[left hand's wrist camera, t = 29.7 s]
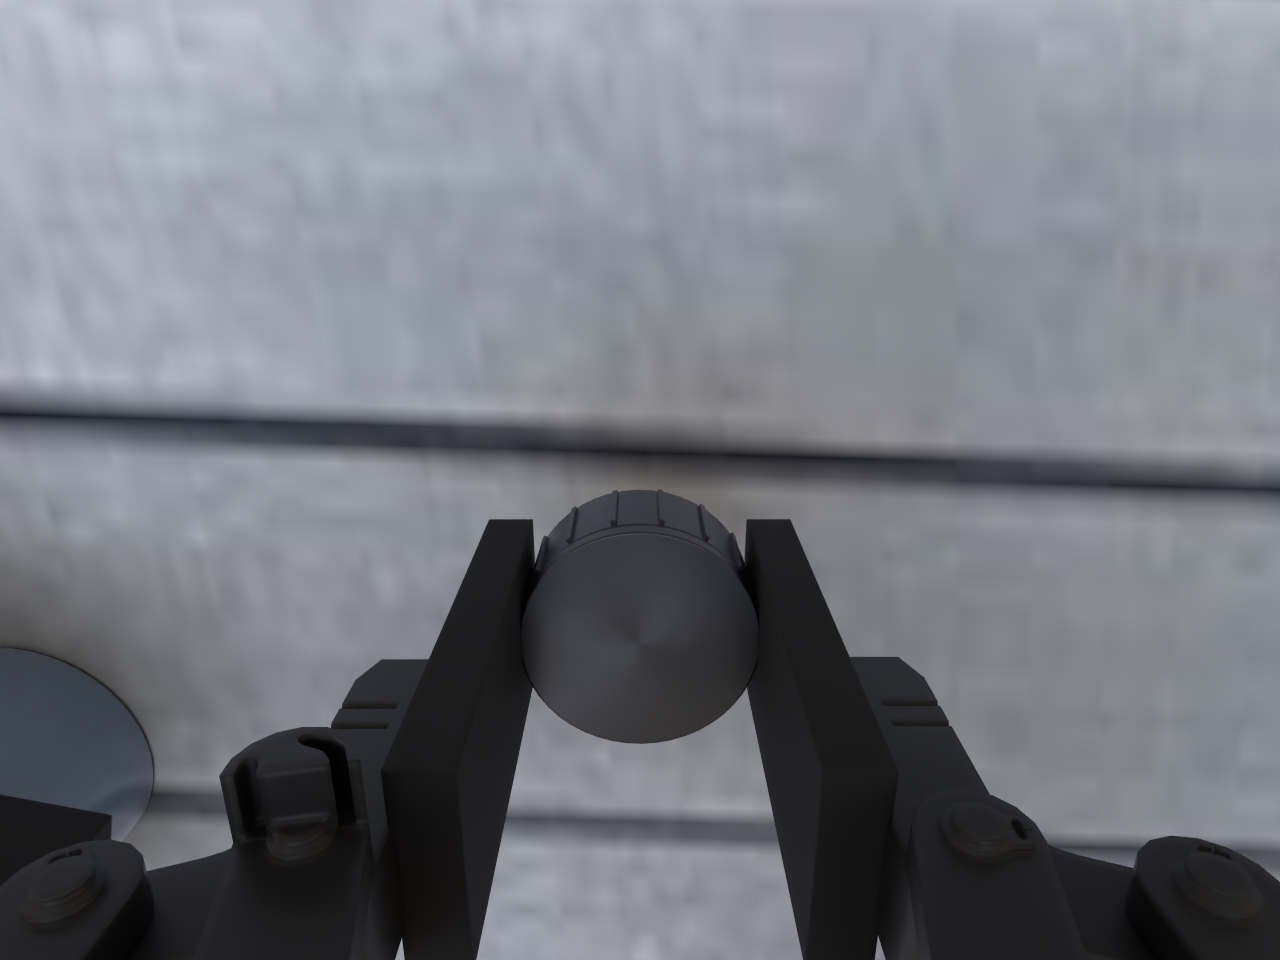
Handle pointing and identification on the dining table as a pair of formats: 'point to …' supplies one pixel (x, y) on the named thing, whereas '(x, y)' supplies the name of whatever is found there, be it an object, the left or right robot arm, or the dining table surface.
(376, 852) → the left robot arm
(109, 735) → the bottle
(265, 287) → the dining table surface
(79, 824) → the right robot arm
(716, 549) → the cap
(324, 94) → the dining table surface
